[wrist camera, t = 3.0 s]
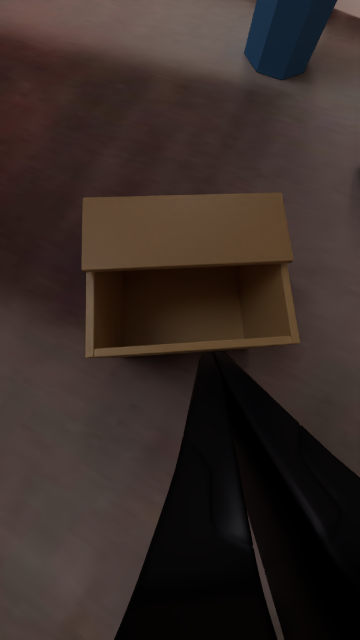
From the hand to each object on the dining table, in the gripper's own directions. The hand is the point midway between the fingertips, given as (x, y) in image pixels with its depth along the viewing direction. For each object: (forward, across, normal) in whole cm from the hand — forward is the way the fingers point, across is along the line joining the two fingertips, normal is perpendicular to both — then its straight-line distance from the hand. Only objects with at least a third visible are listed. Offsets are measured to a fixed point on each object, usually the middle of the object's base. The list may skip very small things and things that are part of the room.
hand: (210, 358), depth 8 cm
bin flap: (+8, 0, -3) cm, 9 cm away
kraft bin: (+13, 0, +5) cm, 14 cm away
